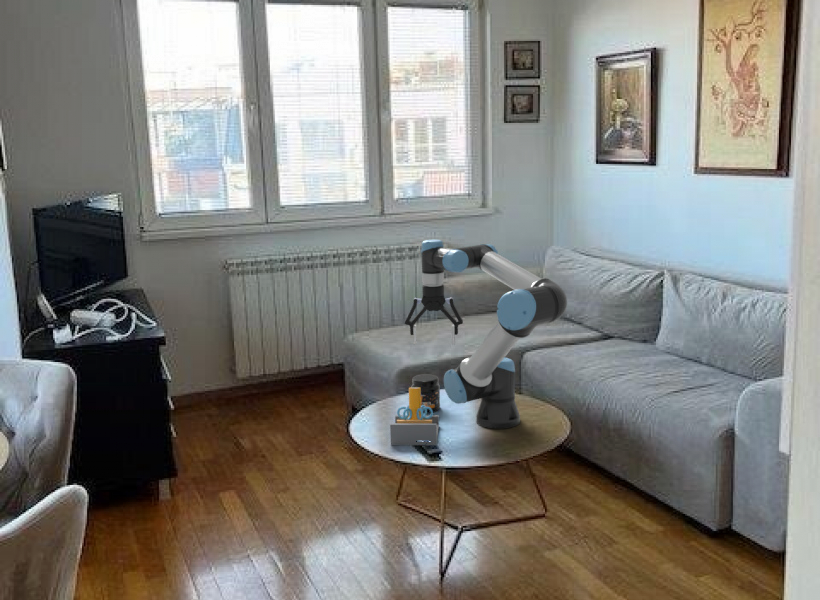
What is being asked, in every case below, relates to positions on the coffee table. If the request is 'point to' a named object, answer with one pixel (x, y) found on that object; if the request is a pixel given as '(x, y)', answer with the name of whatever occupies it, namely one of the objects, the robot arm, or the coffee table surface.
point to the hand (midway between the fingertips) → (434, 343)
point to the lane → (414, 432)
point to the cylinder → (415, 406)
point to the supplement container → (428, 390)
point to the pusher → (414, 421)
